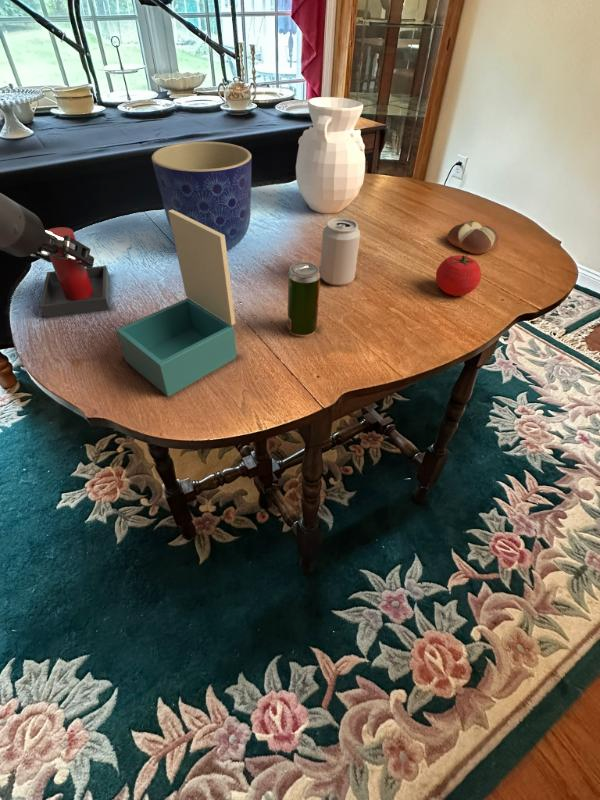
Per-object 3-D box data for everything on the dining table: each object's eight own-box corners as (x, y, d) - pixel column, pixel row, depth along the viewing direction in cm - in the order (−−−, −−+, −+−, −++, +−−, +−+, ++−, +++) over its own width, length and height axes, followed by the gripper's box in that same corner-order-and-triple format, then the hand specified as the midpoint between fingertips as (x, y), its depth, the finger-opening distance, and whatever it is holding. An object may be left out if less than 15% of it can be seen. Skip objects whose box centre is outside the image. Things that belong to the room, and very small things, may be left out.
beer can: (295, 341, 76) (296, 279, 68) (282, 325, 80) (282, 264, 72) (321, 334, 78) (326, 273, 70) (308, 318, 82) (311, 259, 73)
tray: (45, 318, 79) (39, 306, 77) (51, 283, 88) (47, 271, 86) (109, 310, 82) (105, 298, 80) (109, 277, 91) (106, 265, 89)
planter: (174, 267, 94) (156, 173, 81) (163, 229, 108) (147, 144, 95) (265, 256, 99) (262, 166, 86) (244, 221, 113) (239, 138, 100)
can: (358, 274, 95) (365, 219, 86) (349, 290, 90) (356, 233, 81) (325, 268, 96) (329, 213, 88) (315, 283, 91) (318, 227, 83)
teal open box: (167, 397, 65) (159, 365, 61) (125, 361, 71) (115, 329, 67) (236, 358, 73) (233, 326, 68) (193, 328, 78) (188, 297, 74)
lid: (220, 237, 57) (224, 235, 58) (167, 210, 63) (172, 209, 64) (231, 325, 68) (235, 323, 68) (185, 296, 74) (189, 294, 74)
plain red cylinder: (98, 293, 85) (78, 233, 76) (73, 303, 82) (49, 242, 74) (84, 284, 87) (64, 224, 79) (60, 293, 84) (35, 233, 76)
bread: (474, 258, 102) (481, 238, 98) (439, 240, 109) (444, 220, 105) (504, 248, 106) (512, 228, 103) (469, 231, 113) (475, 212, 110)
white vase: (346, 225, 113) (358, 113, 96) (283, 212, 119) (284, 103, 101) (369, 202, 126) (383, 99, 108) (311, 191, 131) (316, 91, 113)
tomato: (439, 303, 87) (450, 266, 82) (426, 281, 93) (435, 245, 88) (481, 302, 88) (494, 265, 82) (466, 280, 94) (477, 245, 89)
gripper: (47, 203, 64) (110, 245, 80) (-37, 192, 66) (41, 236, 82) (38, 252, 64) (103, 285, 80) (-46, 240, 66) (34, 274, 82)
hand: (71, 260), depth 81 cm, fingers open, 7 cm apart
